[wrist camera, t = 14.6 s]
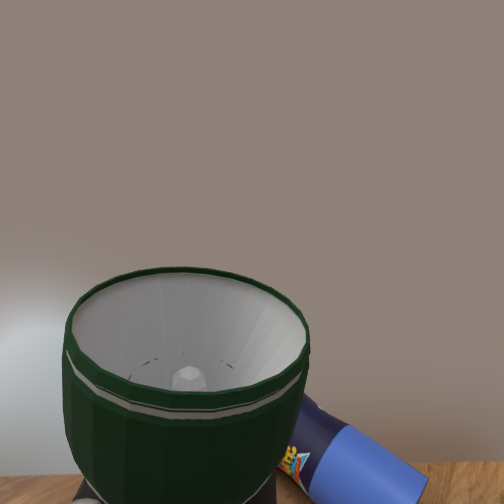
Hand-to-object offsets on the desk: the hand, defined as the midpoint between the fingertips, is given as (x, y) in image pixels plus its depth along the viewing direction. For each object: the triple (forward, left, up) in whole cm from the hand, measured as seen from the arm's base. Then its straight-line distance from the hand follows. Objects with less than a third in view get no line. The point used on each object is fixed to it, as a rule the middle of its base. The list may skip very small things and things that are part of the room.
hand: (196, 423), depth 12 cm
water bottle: (-18, +18, -25) cm, 36 cm away
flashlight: (+3, 0, -14) cm, 14 cm away
